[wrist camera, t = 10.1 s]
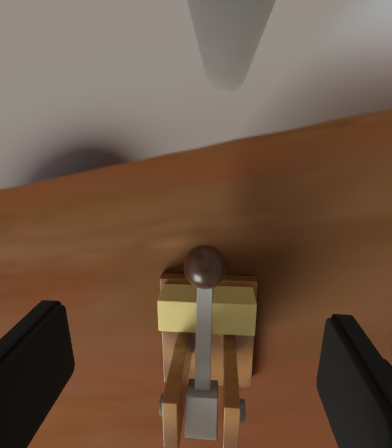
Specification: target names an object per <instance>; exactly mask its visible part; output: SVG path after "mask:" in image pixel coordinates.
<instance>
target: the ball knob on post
mask: <svg viewBox="0 0 392 448" xmlns="http://www.w3.org/2000/svg"><path fill="white" fill-rule="evenodd" d="M183 268H184V274H185V276H186V278H187V280H188V281H189V282H190V283H191V284H192V285H193V286H195V287H197V309H196V349H195V379H191V378H190V379H189V382H188V387H187V392H186V396H185V435H184V436H185V438H196V439H208V440H217V420H218V380H211V345H212V302H213V288H215V287H217V286H218V285H220V284H221V283H222V282H223V280H224V279H225V277H226V275H227V271H228V263H227V259H226V257H225V255H224V254H223V253H222V251H221V250H219V249H218V248H216V247H215V246H212V245H199V246H197V247H195V248H193V249H192V250H190V252H189V253H188V254H187V256H186V258H185V260H184V266H183Z"/></svg>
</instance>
